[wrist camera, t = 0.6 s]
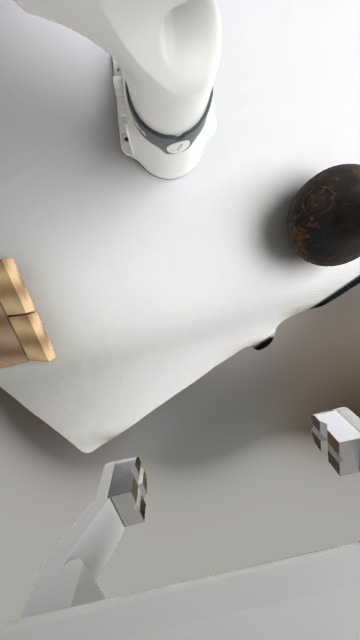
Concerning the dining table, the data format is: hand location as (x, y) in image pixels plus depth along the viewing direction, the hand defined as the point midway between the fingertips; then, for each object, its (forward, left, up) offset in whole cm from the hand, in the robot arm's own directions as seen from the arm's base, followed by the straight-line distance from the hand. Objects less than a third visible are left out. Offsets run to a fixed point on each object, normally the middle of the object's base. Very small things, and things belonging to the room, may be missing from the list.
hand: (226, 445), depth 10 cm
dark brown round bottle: (-7, +33, -44) cm, 56 cm away
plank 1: (-9, -34, -42) cm, 55 cm away
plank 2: (+2, -34, -42) cm, 54 cm away
